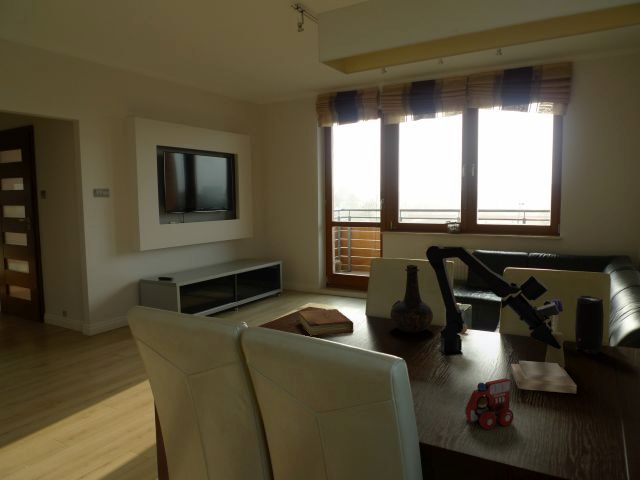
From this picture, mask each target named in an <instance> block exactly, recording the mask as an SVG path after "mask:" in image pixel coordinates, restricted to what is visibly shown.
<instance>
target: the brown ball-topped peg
mask: <svg viewBox="0 0 640 480" xmlns="http://www.w3.org/2000/svg"><path fill="white" fill-rule="evenodd" d="M551 333H552V335H553V336H554V337H555V339H556V340H557V342H558V343H559V344H560V346H561V348H560V349H557V348H555V347H552V346H550V345H548V344H547V346H546V347H547V348H546V353H545V359H544V362H546V363H557V364H558V365H559V366H560V367H563V368H564V369H565V367H566V363H565V357H564V356H565V353H564V347H563V346H564V345H563V343H564V342H565V335H564V334H563V333H562V332H559V331H557V332H551Z"/></svg>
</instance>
